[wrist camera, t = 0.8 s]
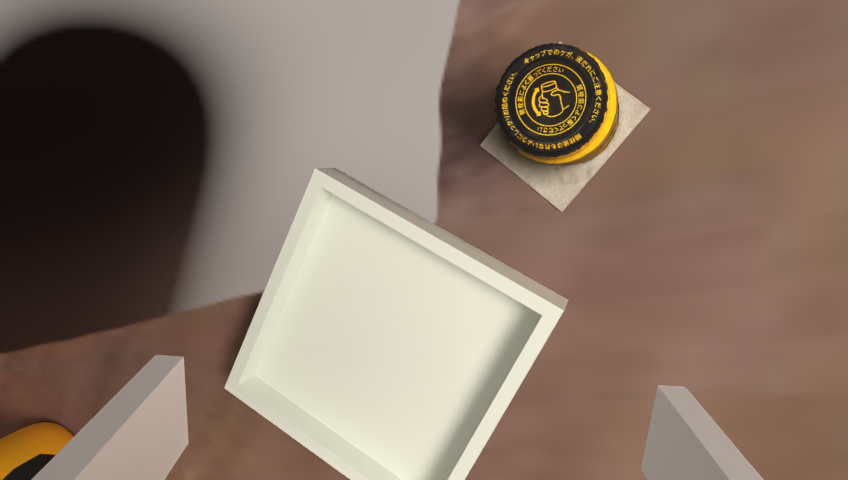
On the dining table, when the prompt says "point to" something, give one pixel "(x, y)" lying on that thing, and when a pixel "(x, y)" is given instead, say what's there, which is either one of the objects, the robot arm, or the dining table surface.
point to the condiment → (559, 119)
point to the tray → (388, 337)
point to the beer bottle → (31, 444)
